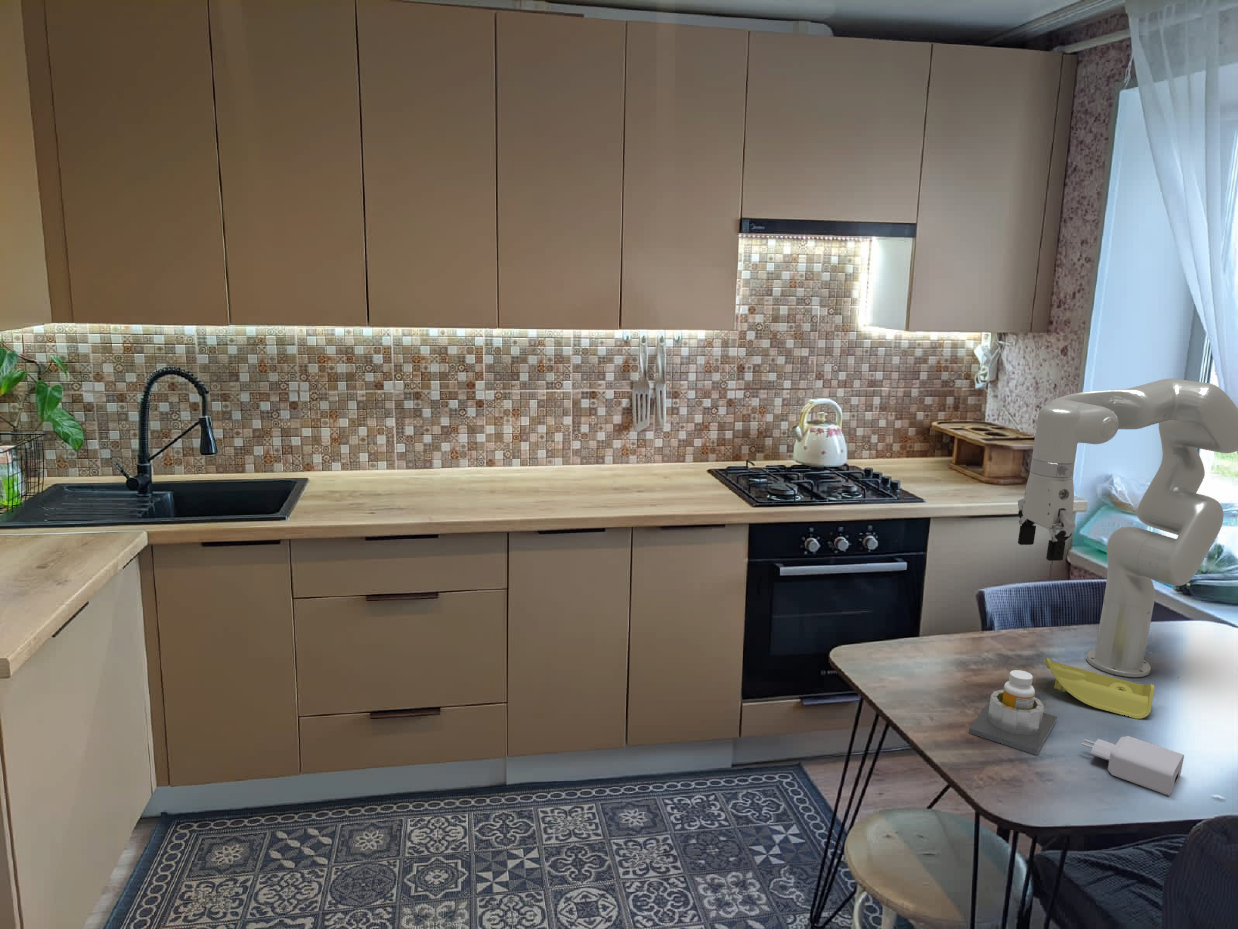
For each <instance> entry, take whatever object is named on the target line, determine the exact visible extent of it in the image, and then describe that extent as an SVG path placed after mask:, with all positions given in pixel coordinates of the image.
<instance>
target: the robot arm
mask: <svg viewBox="0 0 1238 929" xmlns="http://www.w3.org/2000/svg"><path fill="white" fill-rule="evenodd" d="M1036 420H1037V421H1036V427H1035V433H1034V434H1035V435H1034V441H1033V449H1032V456H1031V464H1030V468H1029V469H1030V470H1029V475H1028V478H1027V482H1026V486H1025V491H1024V496H1023V498H1021V499H1018V501H1017V507H1018V511H1017V514H1018V517H1019V520H1018V524H1019V531H1018V532H1019V533H1018V540H1017V543H1018V545H1019V546H1032V545H1034V543H1035V537H1036V529H1037V525H1038V526H1040V527H1042V528H1044V529H1047V530H1048V533H1049V536H1050V538H1051V540H1050V539H1049V540H1048V543H1047V549H1046V550H1047V551H1046V561H1049V562H1051V561H1052V562H1053V561H1055V562H1057V561H1058V562H1059V561H1060V562H1061V561H1063V560H1064V555H1065V547H1066V542H1068V541H1069V538H1071V536H1072V534H1073V532H1074V530H1075V528H1076V523H1075V522H1074V521H1073V516H1074V515H1073V512H1074V504H1075V502H1074V501H1075V491H1074V490H1075V487H1074V486H1075V485H1074V480H1073V475H1074V474H1073V472H1074V467H1075V460H1076V454H1077V449H1078V448H1077V447H1078V444H1087V445H1088V444H1089V445H1101V444H1104V443H1107V442H1109V441H1111V440H1112V439H1113V438H1114V437H1115V436H1116V435H1117V433H1118V430H1140V429H1144V428H1146V427H1151V426H1153V425H1156V424H1158V431H1159V435H1160V436H1159V437H1160V442H1161V448H1162V459H1161V462H1160V465H1159V467H1158V469H1157V471H1156V473H1155V474H1154V477H1153V478H1152V480H1151V482H1150V483H1149V485H1148V487H1147V489H1146V490H1145V493H1144V494H1143V496H1142V497H1141V499H1140V502H1139V503H1138V506H1137V509H1136V516H1137V518H1138V520H1139V521H1140V522H1141V523H1142V524H1144V525H1146V526H1148V527H1151V528H1154V529H1156V530H1158V531H1163V532H1166V533H1170V534H1173V535H1176V536H1177V537H1176V538H1174V537H1171V536H1166V535H1164V534H1162V533H1159V532H1154V531H1151V530H1148V529H1145V528H1142V527H1141V528H1140V527H1134V526H1124V527H1120V528H1117V529H1115V530H1114V531H1113V532H1112V533H1111V535H1110V537H1109V538H1108V540H1107V543H1106V558H1107V560H1106V561H1107V572H1106V574H1107V575H1106V584H1105V590H1104V595H1103V596H1104V598H1103V604H1102V609H1101V615H1100V620H1099V627H1098V628H1099V629H1098V633H1097V639H1096V646H1095V648H1094V649H1091V650H1089V651H1088V652H1087V653H1086V656H1085V658H1086V661H1087V662H1088V663H1089V664H1090V665H1091V666H1092V667H1094V668H1096V669H1098V670H1100V671H1102V672H1106V673H1108V674H1111V675H1114V674H1115V676H1119V677H1120V676H1121V677H1125V678H1143V677H1146V676H1148V675H1149V674H1151V667H1152V666H1151V664H1150V663H1149V662H1147V661H1146V660H1145V656H1146V650H1147V644H1148V639H1149V638H1148V637H1149V632H1150V628H1151V622H1152V616H1153V610H1154V605H1155V598H1156V591H1155V585H1154V583H1153V580H1155V581H1157V582H1161V583H1163V584H1167V585H1169V586H1170V585H1171V586H1174V587H1176V586H1177V587H1178V586H1179V587H1180V586H1181V587H1182V586H1184V585H1186V584H1188V583H1189V582H1190V581H1191V580H1193V578H1194V577H1195V575H1196V574H1197V572H1198V571H1199V569H1200V567H1201V565H1202V564H1203V562H1204V560H1205V559H1206V556H1207V555H1208V553H1209V552H1210V549H1211V548H1212V547H1213V544H1214V543H1215V541H1216V539H1217V538H1218V535H1219V534H1220V531H1221V529H1222V527H1223V526H1222V525H1223V524H1224V510H1223V506H1222V504H1221V503H1220V502H1219V501H1218V500H1217V499H1215V498H1213V497H1211V496H1208V495H1204V494H1200V493H1197V492H1198V491H1199V489H1200V487H1201V485H1202V483H1203V481H1204V479H1205V476H1206V475H1205V474H1206V473H1205V467H1204V462H1203V459H1202V458H1201V456H1200V454H1199V451H1198V449H1201V450H1204V451H1211V452H1214V453H1215V452H1216V453H1221V454H1232V453H1233V454H1234V453H1236V452H1238V406H1237V405H1236V404H1235V403H1234V401H1233V399H1231V398H1230V396H1229V395H1228V394H1227V393H1226V392H1225V391H1224V390H1223V389H1221V388H1220V387H1219V386H1217V385H1216V384H1213V383H1208V382H1202V381H1196V380H1195V381H1194V380H1187V379H1181V378H1163V379H1159V380H1156V381H1152V382H1148V383H1145V384H1144V383H1143V384H1141V385H1137V386H1133V387H1129V388H1128V387H1127V388H1120V389H1119V388H1118V389H1108V390H1096V391H1093V390H1092V391H1084V392H1083V391H1082V392H1076V393H1071V394H1066V395H1063V396H1059V397H1057V398H1054V399H1053V400H1051V401H1049V402H1048V403H1047V404H1046V405H1044V406H1041V408H1040V409H1039V410H1038V414H1037V419H1036ZM1057 531H1059V532H1057Z"/></svg>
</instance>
